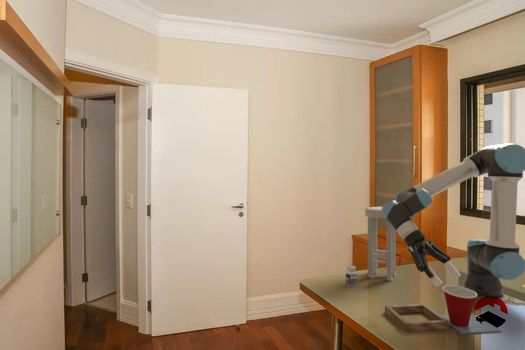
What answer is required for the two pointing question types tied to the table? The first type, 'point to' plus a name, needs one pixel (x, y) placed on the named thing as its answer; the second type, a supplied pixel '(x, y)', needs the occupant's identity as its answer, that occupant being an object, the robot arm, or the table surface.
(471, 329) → the coaster
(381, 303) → the table surface
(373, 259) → the stool
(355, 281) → the pill bottle
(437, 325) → the wooden frame
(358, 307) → the table surface
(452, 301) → the plastic cup
